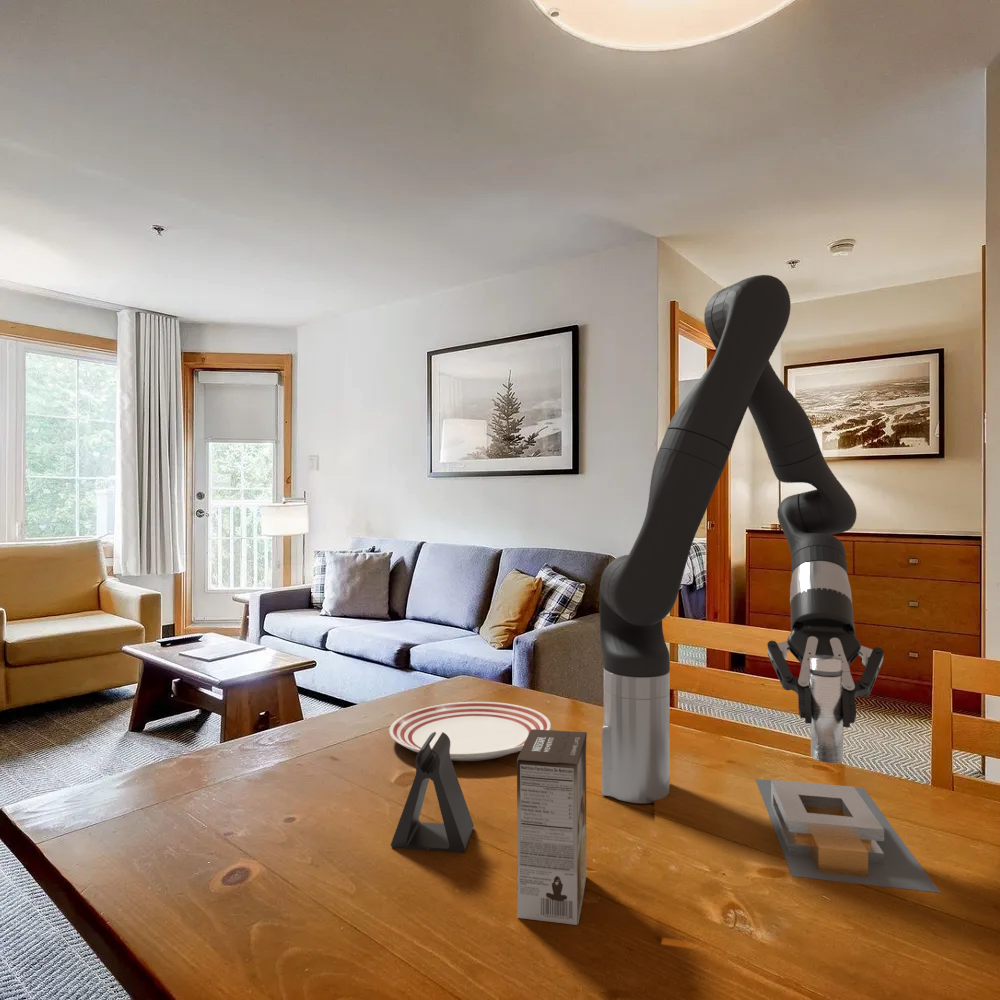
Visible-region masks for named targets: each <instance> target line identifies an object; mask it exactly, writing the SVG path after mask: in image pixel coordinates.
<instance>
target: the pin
mask: <svg viewBox="0 0 1000 1000" xmlns="http://www.w3.org/2000/svg"><path fill="white" fill-rule="evenodd" d="M809 672H810V689H811V710H812V724H810V757H811V758H812V759H814V760H816V761H818V762H821V763H827V764H839V763H842V762H844V740H843V739H844V733H843V732H844V731H843V730H844V729H843V728H844V727H843V722H842V659H841V658H839V657H835V656H830V655H812V656H810V666H809Z"/></svg>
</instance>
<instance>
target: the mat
mask: <svg viewBox="0 0 1000 1000" xmlns="http://www.w3.org/2000/svg"><path fill="white" fill-rule="evenodd" d="M771 780H772V779H762V778H761V779H760V778H755V782H756V785H757V787H758V790H759V793H760V796H761V798H762V801H763V803H764V806H765V808H766V812H767V814H768V816H769V819H770V821H771V824H772V827H773V829H774V832H775V834H776V837H777V841H778V842H779V845H780V848H781V851H782V853H783V856H784V858H785V861H786V863H787V866H788V869H789V872H790V875H791V877H794V878H805V879H812V880H821V881H832V882H838V883H847V884H857V885H864V886H865V885H866V886H875V887H883V888H892V889H893V888H894V889H901V890H910V891H918V892H920V891H921V892H929V893H937V894H941V891H940V889H938V887H937V886H936V884H935V883H934V881H932V879H931V878H930V876H929V875H928V874H927V872H926V871H925V869H924V868H923V866H921V864H920V863H919V861H918V859H916V857H915V856H914V855H913V853H912V852H911V851H910V849H909V847H908V846H907V845H906V844H905V843H904V840H902V838H901V837H900V835H899V834H898V833H897V832H896V830H895V829H894V827H893V826H892V824H891V823H890V821H889V820H888V819H887V818H886V816H885V815H884V814H883V812H882V811H881V810H880V808H879V807H878V806H877V804H876V803H875V802H874V800H873V799H872V798H871V796H870V795H869V793H868V792H867V791H866V789H865V788H864V787H856V786H855V787H854V786H853V787H854V788H855V789H856V791H857V792H858V793H859V795H860V796H861V798H862V799H863V800H864V802H865V803H866V805H867V806H868V808H869V809H870V810H871V812H872V813H873V815H874V816H875V817H876V819H877V820H878V822H879V823H880V825H881V826H882V827H883V829H884V841H877V840H875V841H876V842H877V844H878V845H879V847H880V848H881V850H882V851H883V853H884V865H877V864H868V877H862V876H852V875H843V874H834V873H825V872H818V870H817V867H816V865H815V863H814V861H813V859H812V858H811V857H802V856H792V855H788V852H787V849H786V847H785V844H784V842H783V839H782V837H781V834H780V832H779V829H778V826H777V824H776V821H775V819H774V816H773V814H772V811H771Z"/></svg>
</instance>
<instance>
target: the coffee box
mask: <svg viewBox="0 0 1000 1000" xmlns="http://www.w3.org/2000/svg"><path fill="white" fill-rule="evenodd" d="M587 735H588V733H587V732H586V731H567V730H554V729H550V730H536V729H532V730H530V733H529V735H528V737H527V739H526V741H525V743H524V746H523V748H522V750H521V751H519V754H518V756H517V758H516V759H517V760H516V877H517V878H516V910H517V911H516V913H517V914H516V916H517V918H519V919H524V920H525V919H526V920H534V921H539V922H549V923H557V924H565V925H573V926H578V925H579V922H580V918H581V913H582V906H583V899H584V895H585V894H584V893H585V887H586V882H587V881H586V880H587Z"/></svg>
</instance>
